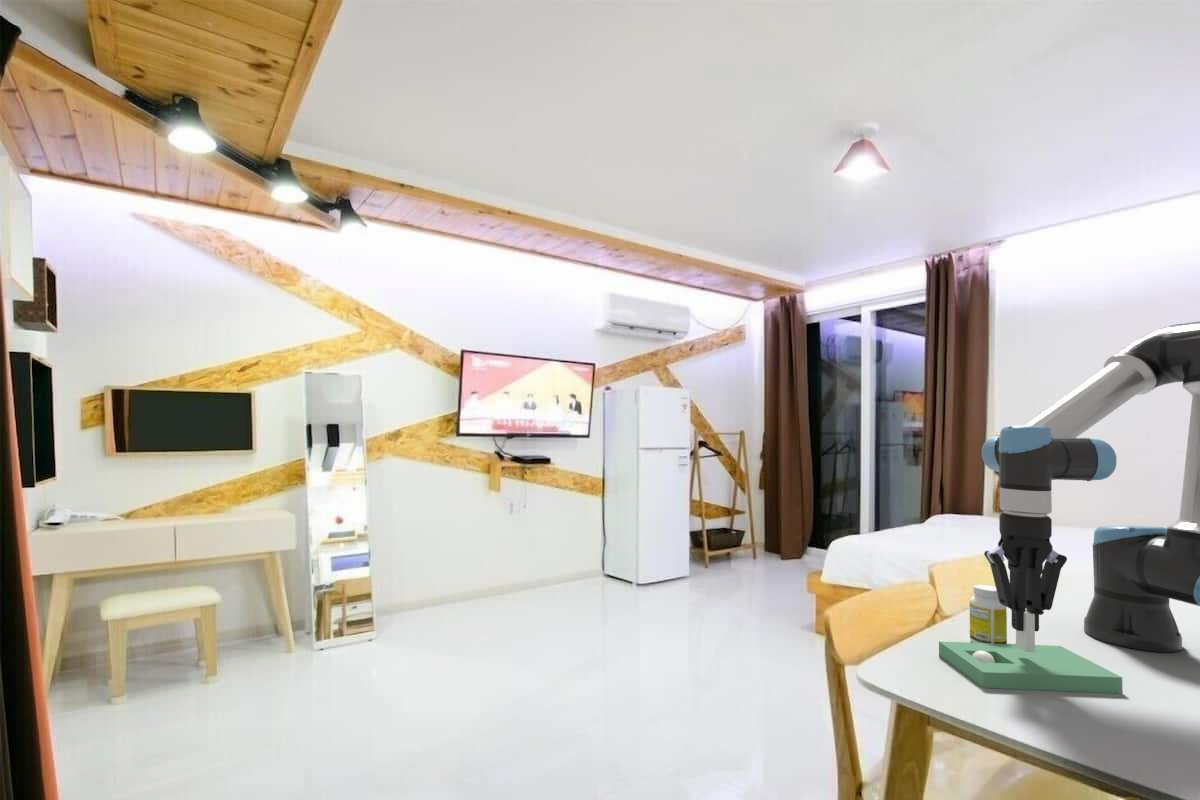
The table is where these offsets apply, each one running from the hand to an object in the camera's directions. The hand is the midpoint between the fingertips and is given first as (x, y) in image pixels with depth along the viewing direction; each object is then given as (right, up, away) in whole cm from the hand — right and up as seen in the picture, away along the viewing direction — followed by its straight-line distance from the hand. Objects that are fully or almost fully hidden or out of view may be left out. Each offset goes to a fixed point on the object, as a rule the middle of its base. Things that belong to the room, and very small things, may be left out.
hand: (1025, 649), depth 105 cm
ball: (-7, -2, 0) cm, 8 cm away
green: (0, -4, 0) cm, 4 cm away
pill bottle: (+2, -5, +14) cm, 15 cm away
